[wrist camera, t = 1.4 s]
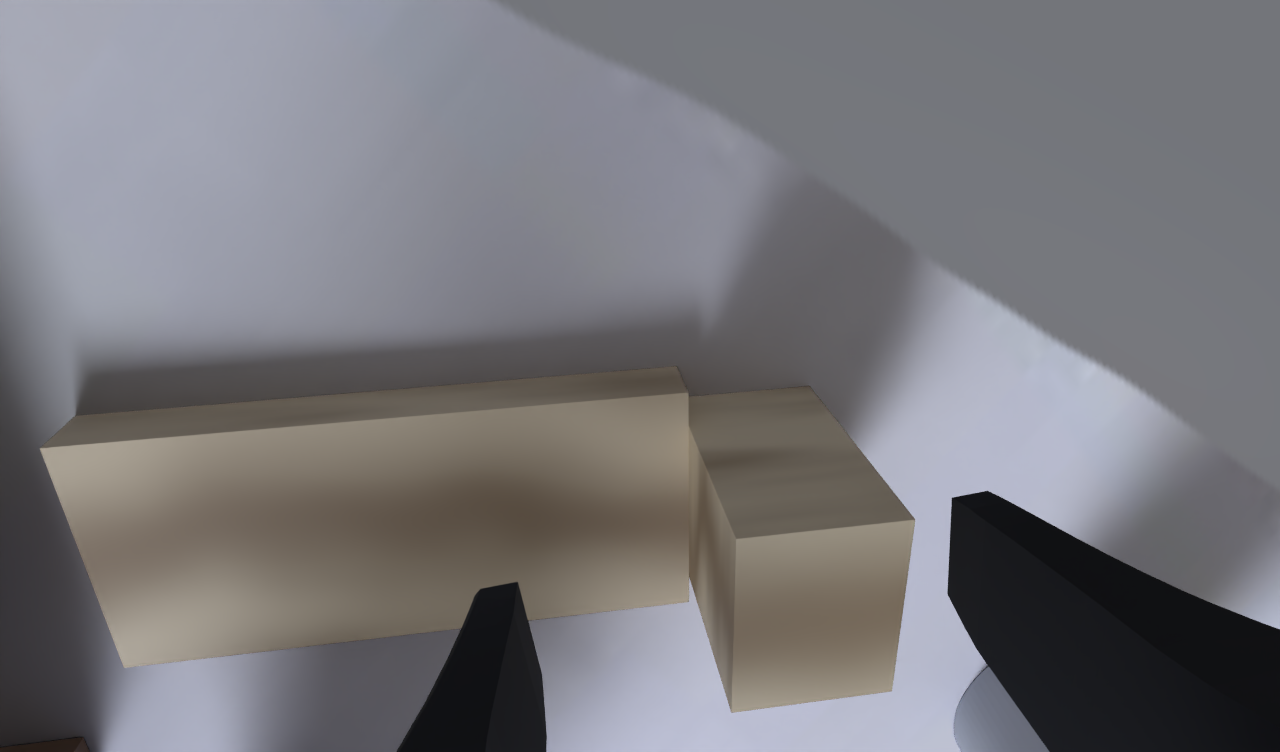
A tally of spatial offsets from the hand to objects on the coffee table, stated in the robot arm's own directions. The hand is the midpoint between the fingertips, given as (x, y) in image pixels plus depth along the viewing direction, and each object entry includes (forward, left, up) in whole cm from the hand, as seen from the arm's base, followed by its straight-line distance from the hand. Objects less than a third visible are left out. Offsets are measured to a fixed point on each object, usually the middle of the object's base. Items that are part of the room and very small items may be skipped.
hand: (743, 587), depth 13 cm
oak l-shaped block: (-4, +5, -11) cm, 12 cm away
